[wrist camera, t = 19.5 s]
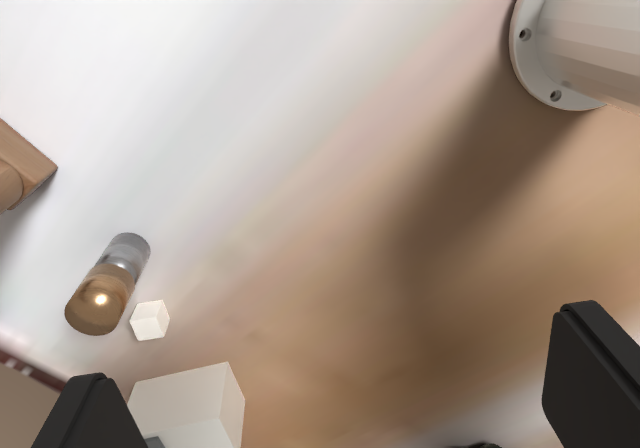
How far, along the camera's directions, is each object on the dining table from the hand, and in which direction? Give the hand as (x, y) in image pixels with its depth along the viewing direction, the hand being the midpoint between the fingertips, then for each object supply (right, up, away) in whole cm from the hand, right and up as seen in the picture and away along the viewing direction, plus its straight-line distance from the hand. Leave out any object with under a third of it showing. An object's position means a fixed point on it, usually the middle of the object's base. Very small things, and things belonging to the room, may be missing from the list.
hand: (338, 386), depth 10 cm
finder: (-14, -14, +39) cm, 44 cm away
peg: (-17, +1, +30) cm, 35 cm away
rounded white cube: (-16, -5, +33) cm, 37 cm away
